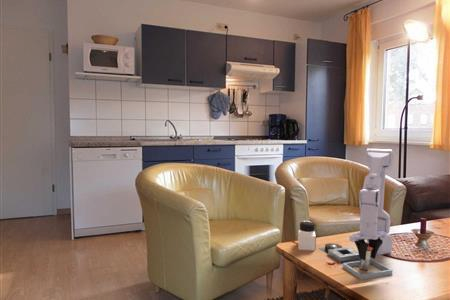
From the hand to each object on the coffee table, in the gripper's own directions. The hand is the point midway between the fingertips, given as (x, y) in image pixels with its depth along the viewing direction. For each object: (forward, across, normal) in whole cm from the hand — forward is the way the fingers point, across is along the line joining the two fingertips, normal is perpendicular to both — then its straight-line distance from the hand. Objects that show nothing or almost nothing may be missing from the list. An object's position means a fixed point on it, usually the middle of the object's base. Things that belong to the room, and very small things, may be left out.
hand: (367, 258), depth 122 cm
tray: (+6, 0, 0) cm, 6 cm away
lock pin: (+4, 0, +1) cm, 4 cm away
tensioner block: (+6, 0, +16) cm, 17 cm away
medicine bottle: (+6, -9, +27) cm, 29 cm away
